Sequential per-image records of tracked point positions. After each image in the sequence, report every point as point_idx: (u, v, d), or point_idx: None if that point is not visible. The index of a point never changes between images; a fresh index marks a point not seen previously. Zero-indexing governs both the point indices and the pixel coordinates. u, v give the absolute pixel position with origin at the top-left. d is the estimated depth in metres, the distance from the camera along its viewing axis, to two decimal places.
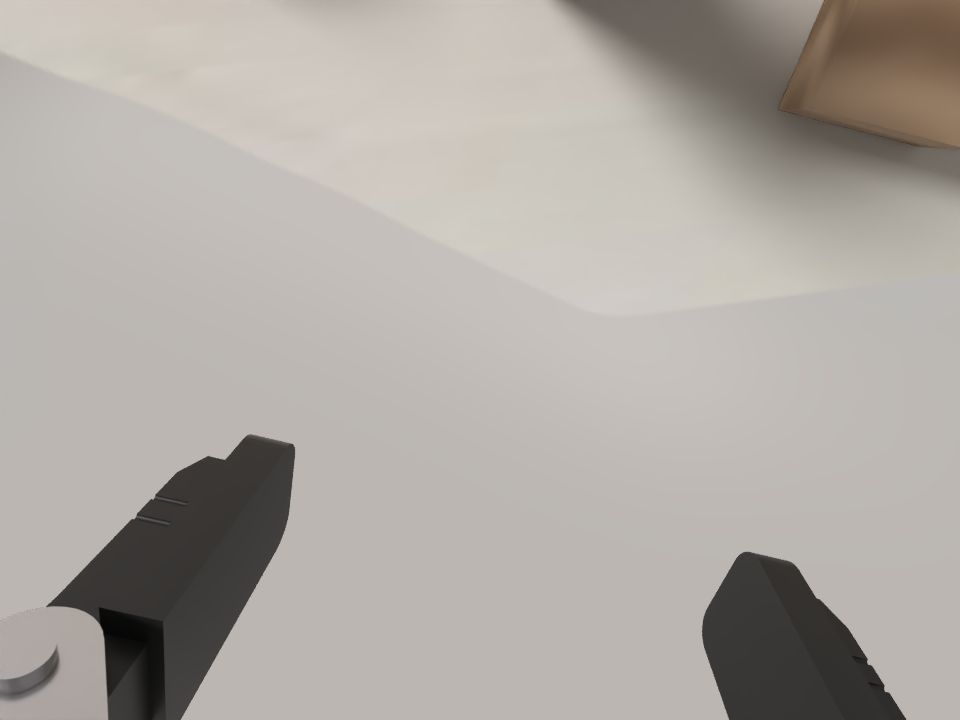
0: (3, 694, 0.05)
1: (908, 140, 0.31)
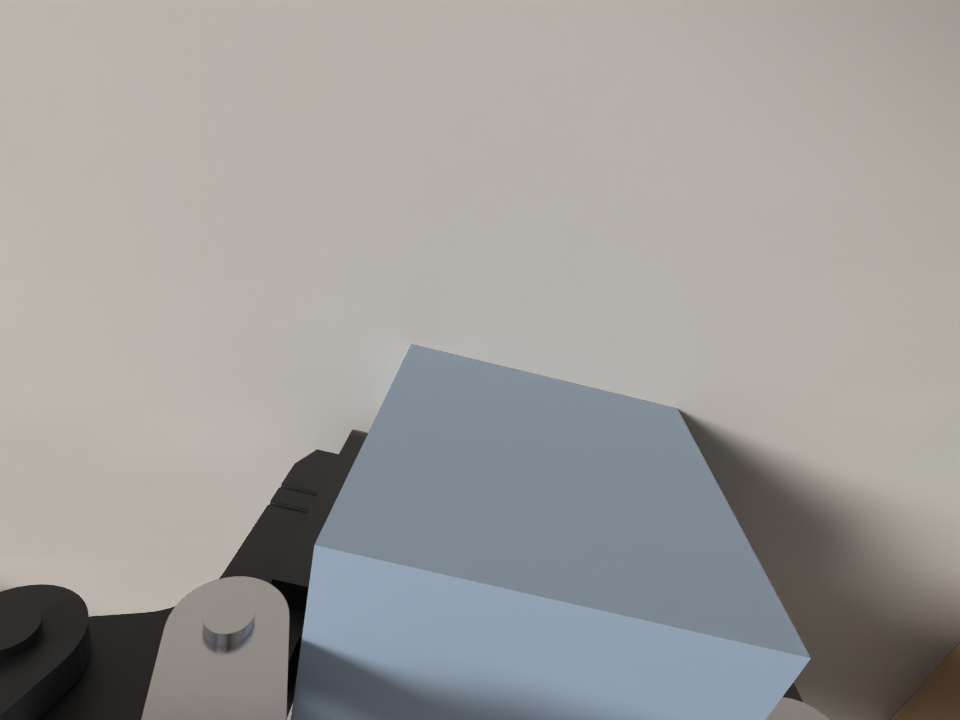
0: (222, 648, 0.05)
1: None
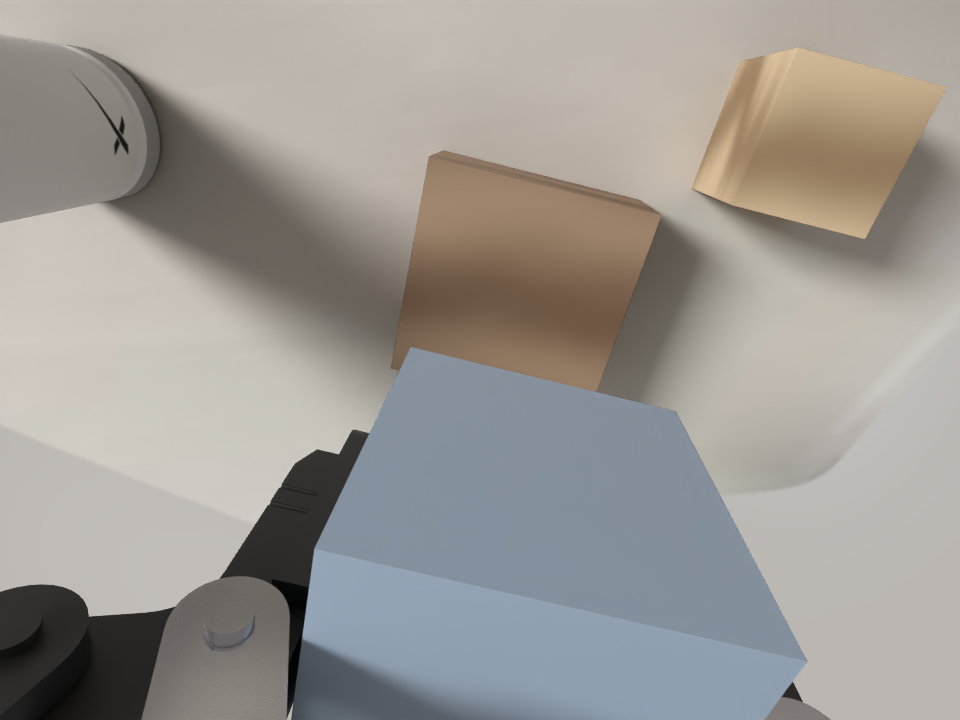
0: (222, 648, 0.05)
1: None
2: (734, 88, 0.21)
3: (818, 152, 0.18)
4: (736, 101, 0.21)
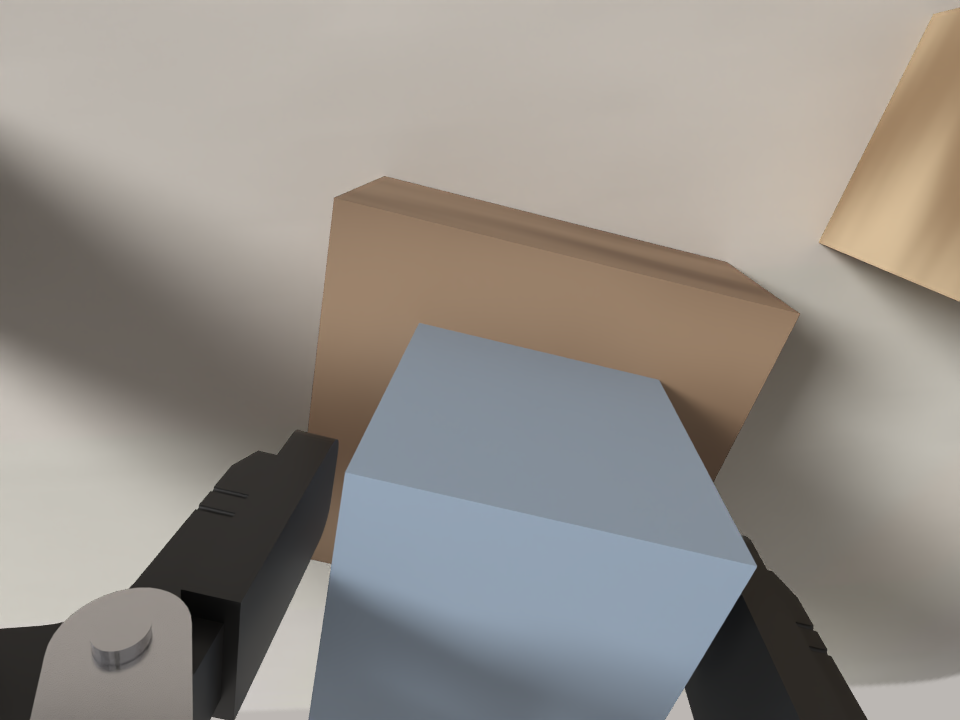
0: (109, 665, 0.05)
1: None
2: (923, 64, 0.11)
3: None
4: (935, 88, 0.11)
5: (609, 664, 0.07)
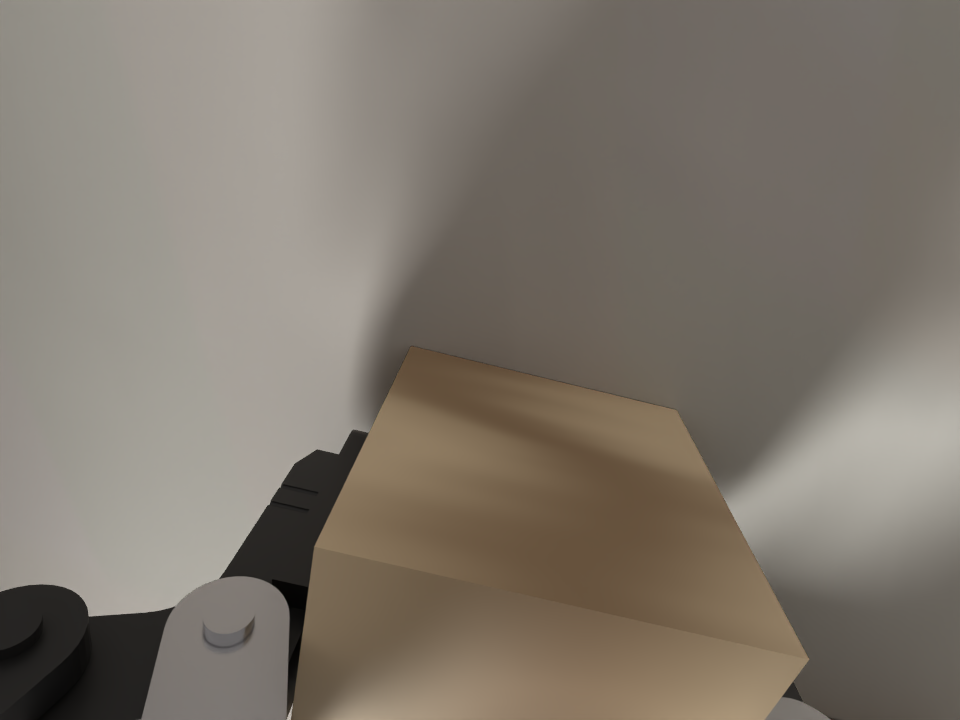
0: (222, 648, 0.05)
1: None
2: None
3: None
4: None
5: None
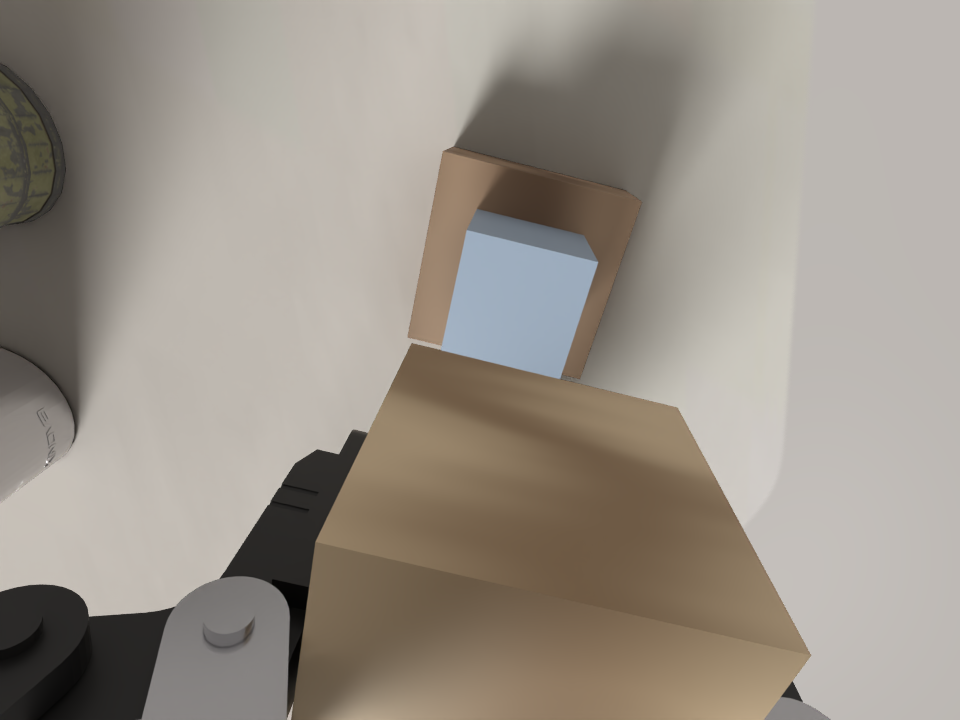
0: (222, 648, 0.05)
1: None
2: None
3: None
4: None
5: (516, 272, 0.20)
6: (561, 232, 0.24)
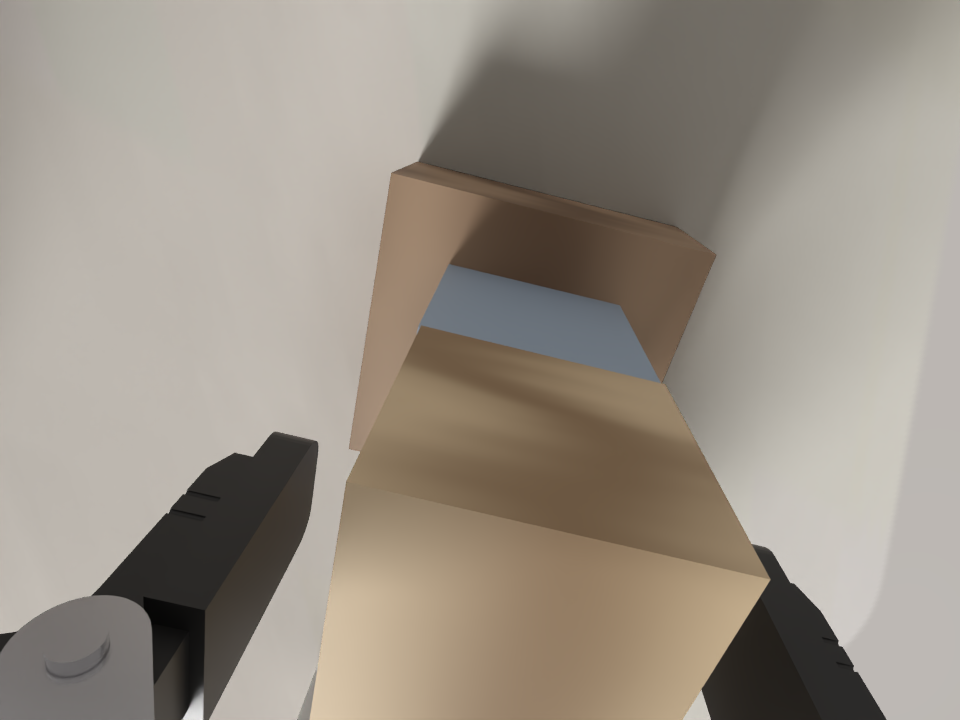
0: (61, 677, 0.05)
1: None
2: None
3: (515, 695, 0.07)
4: None
5: None
6: (585, 303, 0.15)
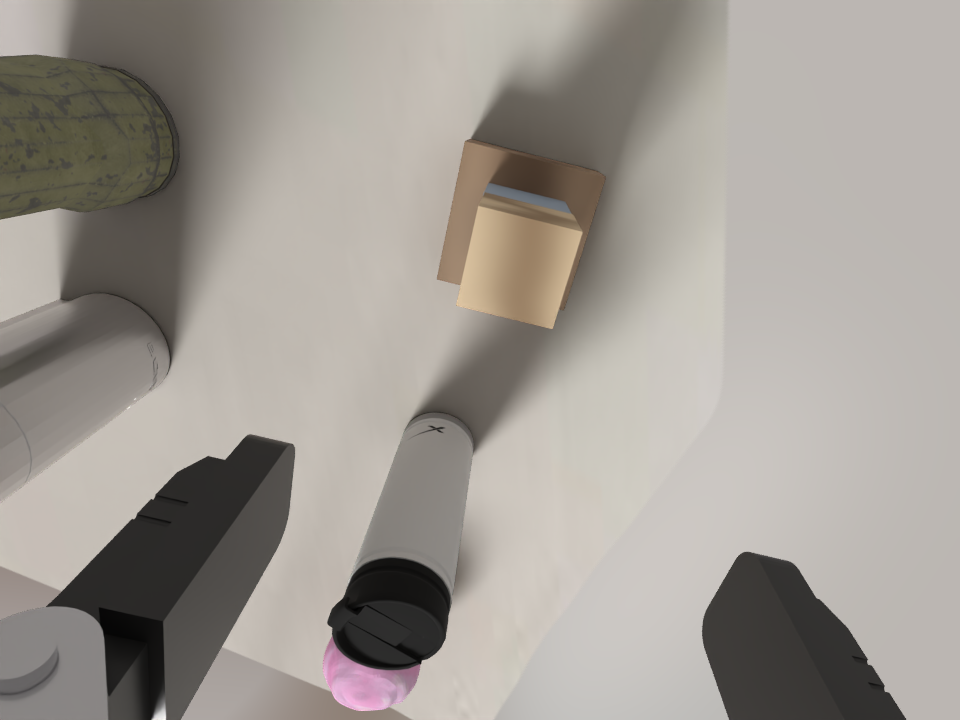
0: (4, 694, 0.05)
1: None
2: None
3: (519, 279, 0.26)
4: None
5: None
6: (548, 199, 0.34)
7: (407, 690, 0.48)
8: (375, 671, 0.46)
